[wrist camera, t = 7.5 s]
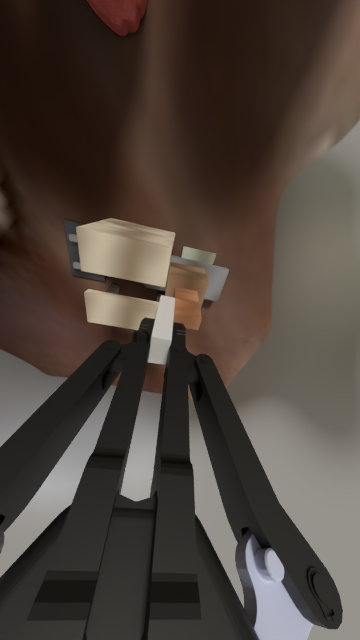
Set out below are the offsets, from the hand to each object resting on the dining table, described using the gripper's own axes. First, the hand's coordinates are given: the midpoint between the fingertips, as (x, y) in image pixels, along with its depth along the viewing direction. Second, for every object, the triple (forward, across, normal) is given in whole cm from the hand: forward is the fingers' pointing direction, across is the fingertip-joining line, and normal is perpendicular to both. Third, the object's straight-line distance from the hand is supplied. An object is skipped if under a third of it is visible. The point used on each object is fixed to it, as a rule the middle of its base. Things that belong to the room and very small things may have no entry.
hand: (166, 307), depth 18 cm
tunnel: (+11, -5, 0) cm, 12 cm away
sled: (+10, +2, 0) cm, 10 cm away
